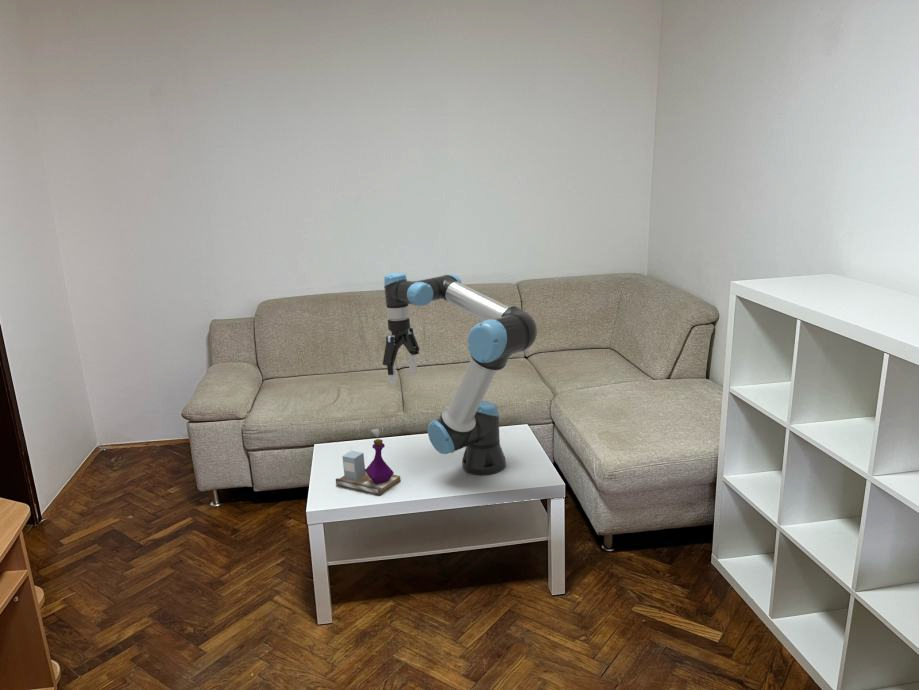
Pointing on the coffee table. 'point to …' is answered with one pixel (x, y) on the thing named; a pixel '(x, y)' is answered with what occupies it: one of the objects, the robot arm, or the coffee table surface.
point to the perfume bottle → (378, 463)
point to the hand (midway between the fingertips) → (403, 377)
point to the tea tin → (354, 465)
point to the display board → (368, 484)
